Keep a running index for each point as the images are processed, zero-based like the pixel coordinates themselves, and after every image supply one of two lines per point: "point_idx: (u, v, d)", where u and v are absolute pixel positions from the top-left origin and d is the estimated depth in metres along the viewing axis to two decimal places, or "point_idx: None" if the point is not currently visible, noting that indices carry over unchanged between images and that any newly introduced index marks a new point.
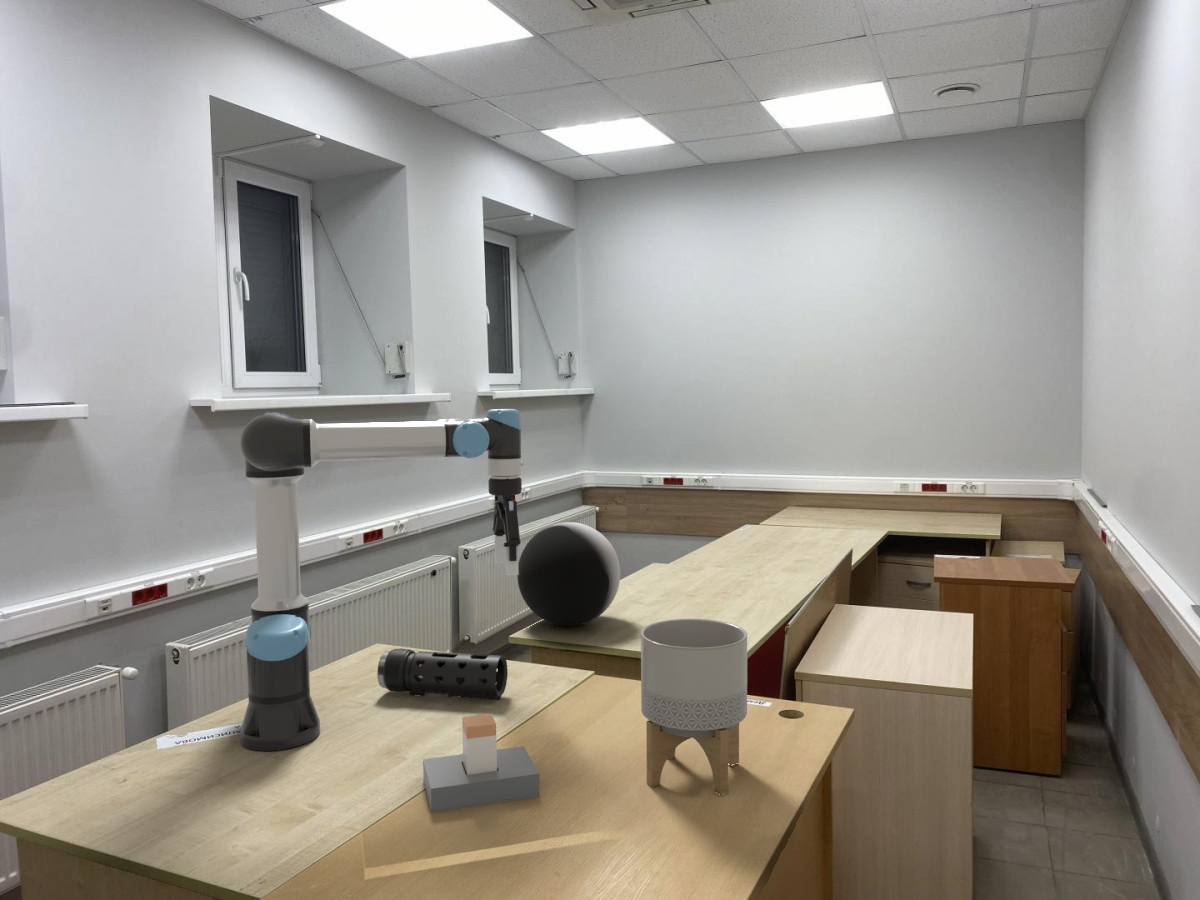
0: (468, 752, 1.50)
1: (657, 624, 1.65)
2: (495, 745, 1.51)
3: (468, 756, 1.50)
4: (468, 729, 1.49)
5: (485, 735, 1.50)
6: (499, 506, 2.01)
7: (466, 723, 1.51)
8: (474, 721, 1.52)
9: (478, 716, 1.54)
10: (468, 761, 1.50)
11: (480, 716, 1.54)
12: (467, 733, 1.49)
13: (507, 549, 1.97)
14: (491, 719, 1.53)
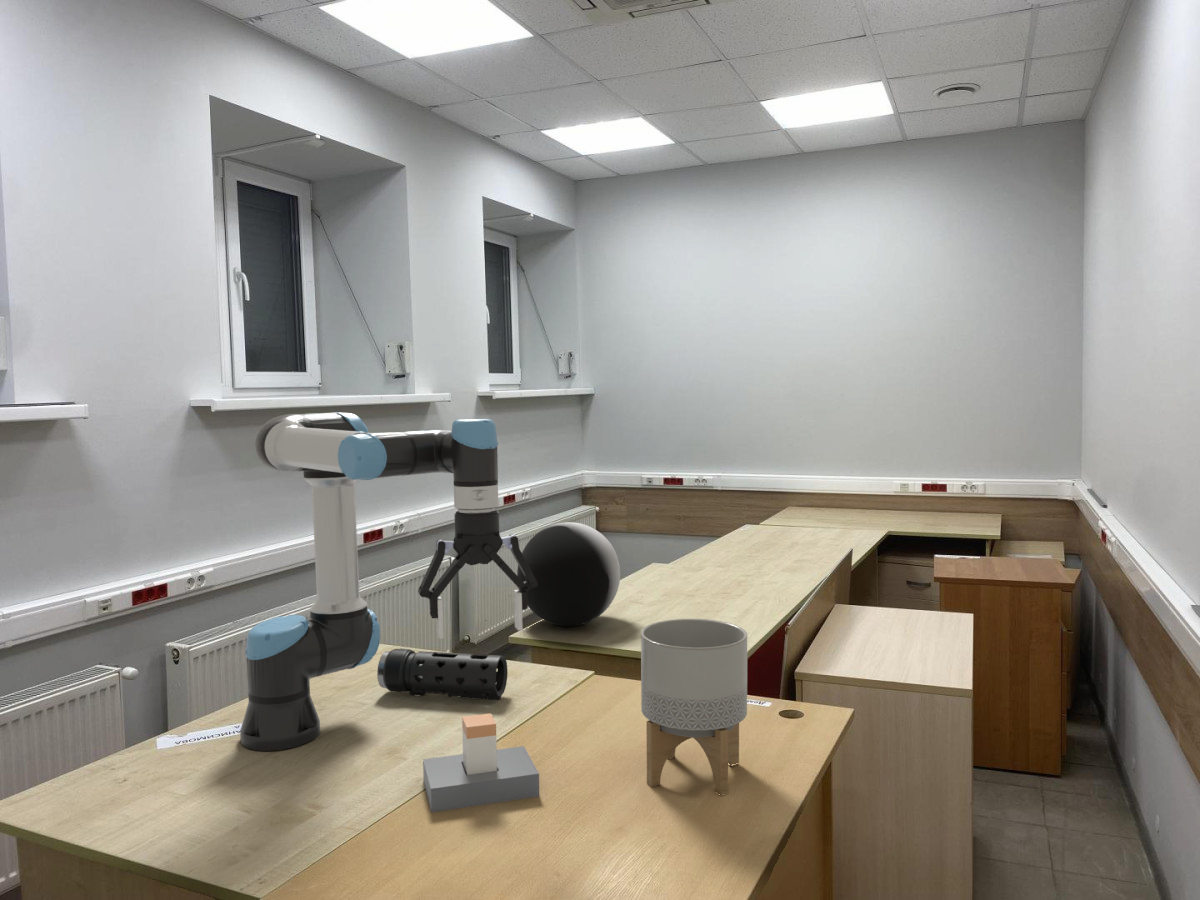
0: (468, 752, 1.50)
1: (657, 624, 1.65)
2: (495, 745, 1.51)
3: (468, 756, 1.50)
4: (468, 729, 1.49)
5: (485, 735, 1.50)
6: None
7: (466, 723, 1.51)
8: (474, 721, 1.52)
9: (478, 716, 1.54)
10: (468, 761, 1.50)
11: (480, 716, 1.54)
12: (467, 733, 1.49)
13: None
14: (491, 719, 1.53)
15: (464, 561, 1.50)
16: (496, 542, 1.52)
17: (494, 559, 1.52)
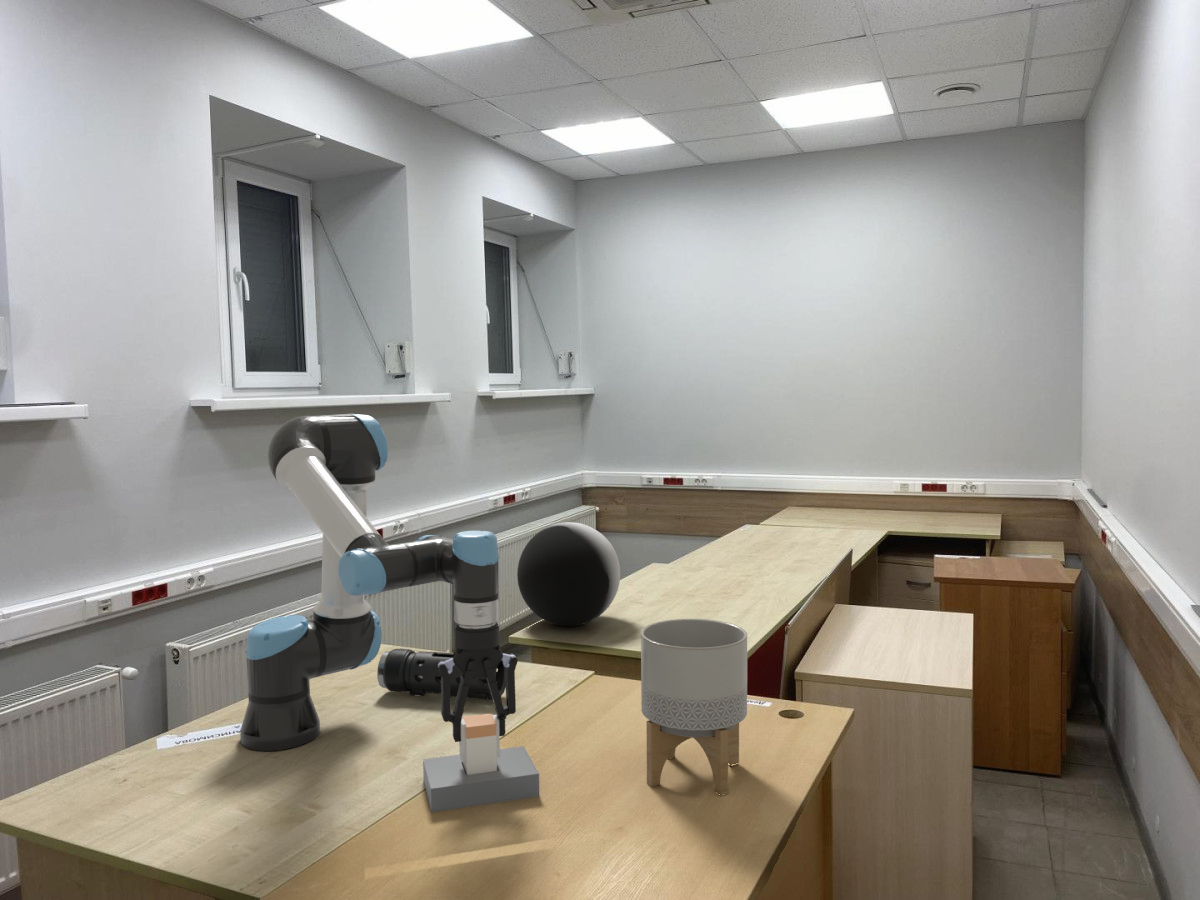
0: (468, 752, 1.50)
1: (657, 624, 1.65)
2: (495, 745, 1.51)
3: (468, 756, 1.50)
4: (468, 729, 1.49)
5: (485, 735, 1.50)
6: None
7: (466, 723, 1.51)
8: (474, 721, 1.52)
9: (478, 716, 1.54)
10: (468, 761, 1.50)
11: (480, 716, 1.54)
12: (467, 733, 1.49)
13: None
14: (491, 719, 1.53)
15: (470, 678, 1.50)
16: (496, 656, 1.51)
17: (488, 676, 1.50)
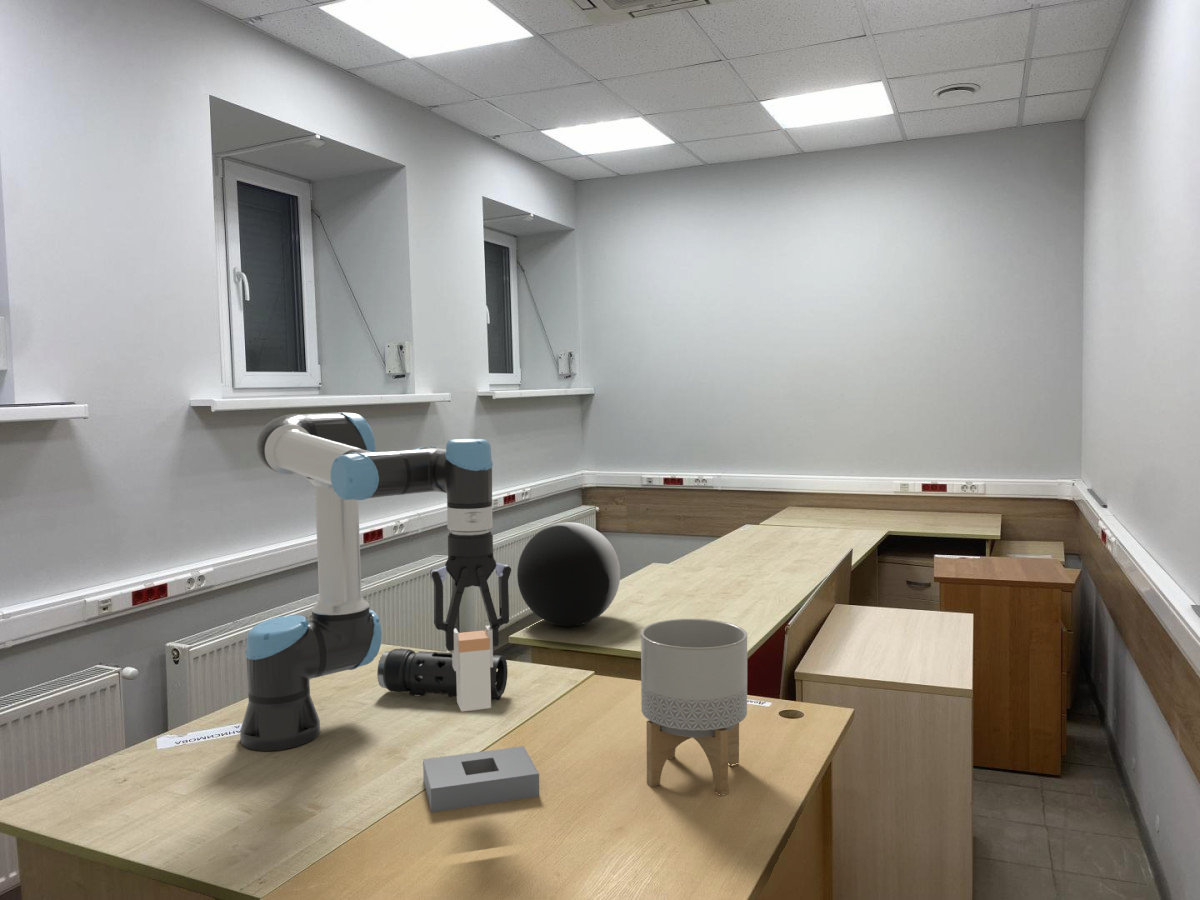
0: (461, 666, 1.48)
1: (657, 624, 1.65)
2: (488, 659, 1.50)
3: (461, 670, 1.48)
4: (462, 643, 1.48)
5: (478, 649, 1.49)
6: None
7: (459, 638, 1.50)
8: (467, 636, 1.50)
9: (471, 632, 1.53)
10: (461, 675, 1.48)
11: (473, 632, 1.53)
12: (460, 647, 1.48)
13: None
14: (484, 634, 1.51)
15: (463, 585, 1.48)
16: (490, 564, 1.50)
17: (481, 584, 1.49)
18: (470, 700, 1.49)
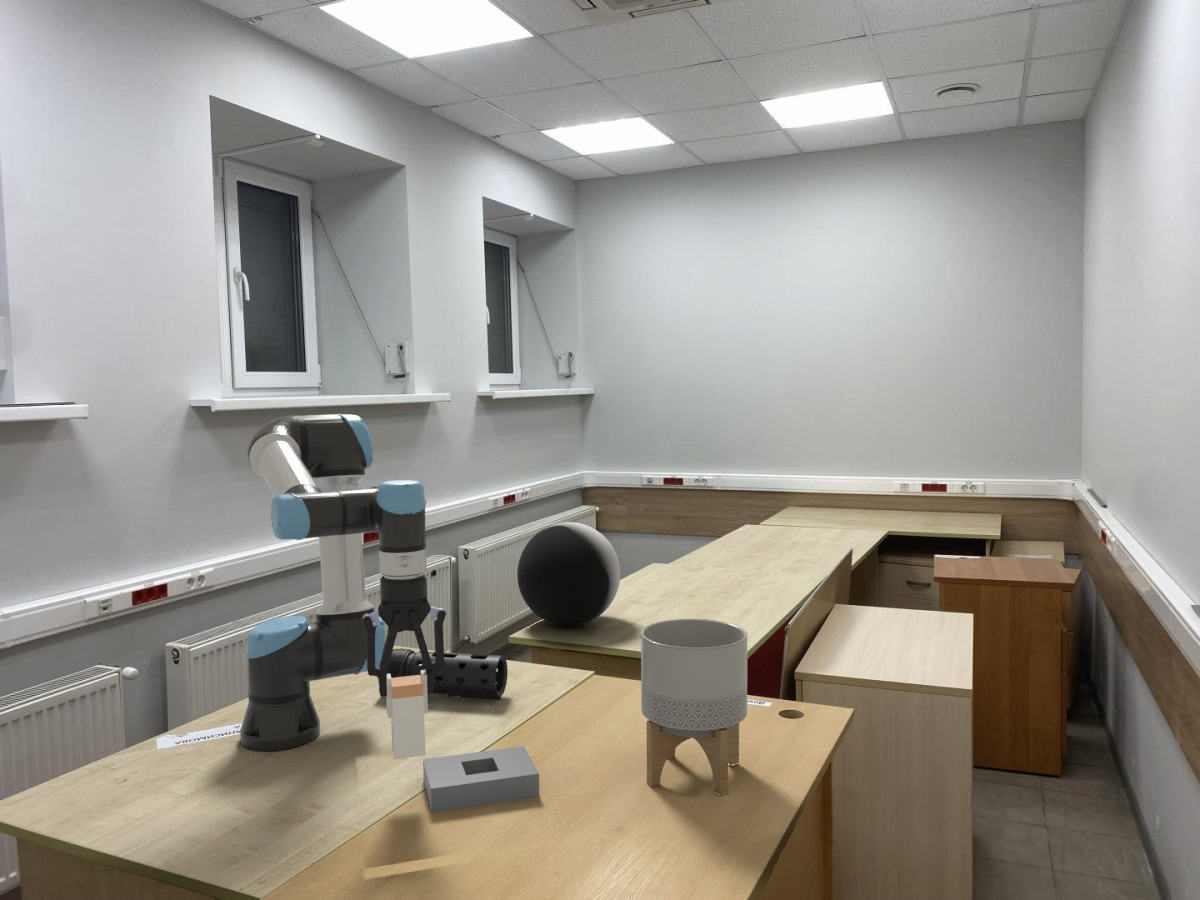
0: (394, 713, 1.45)
1: (657, 624, 1.65)
2: (422, 706, 1.47)
3: (394, 717, 1.45)
4: (394, 689, 1.45)
5: (412, 696, 1.46)
6: None
7: (392, 683, 1.47)
8: (401, 682, 1.47)
9: (406, 677, 1.50)
10: (394, 722, 1.45)
11: (408, 677, 1.50)
12: (393, 693, 1.45)
13: None
14: (419, 680, 1.48)
15: (395, 630, 1.45)
16: (424, 608, 1.47)
17: (415, 629, 1.46)
18: (403, 747, 1.46)
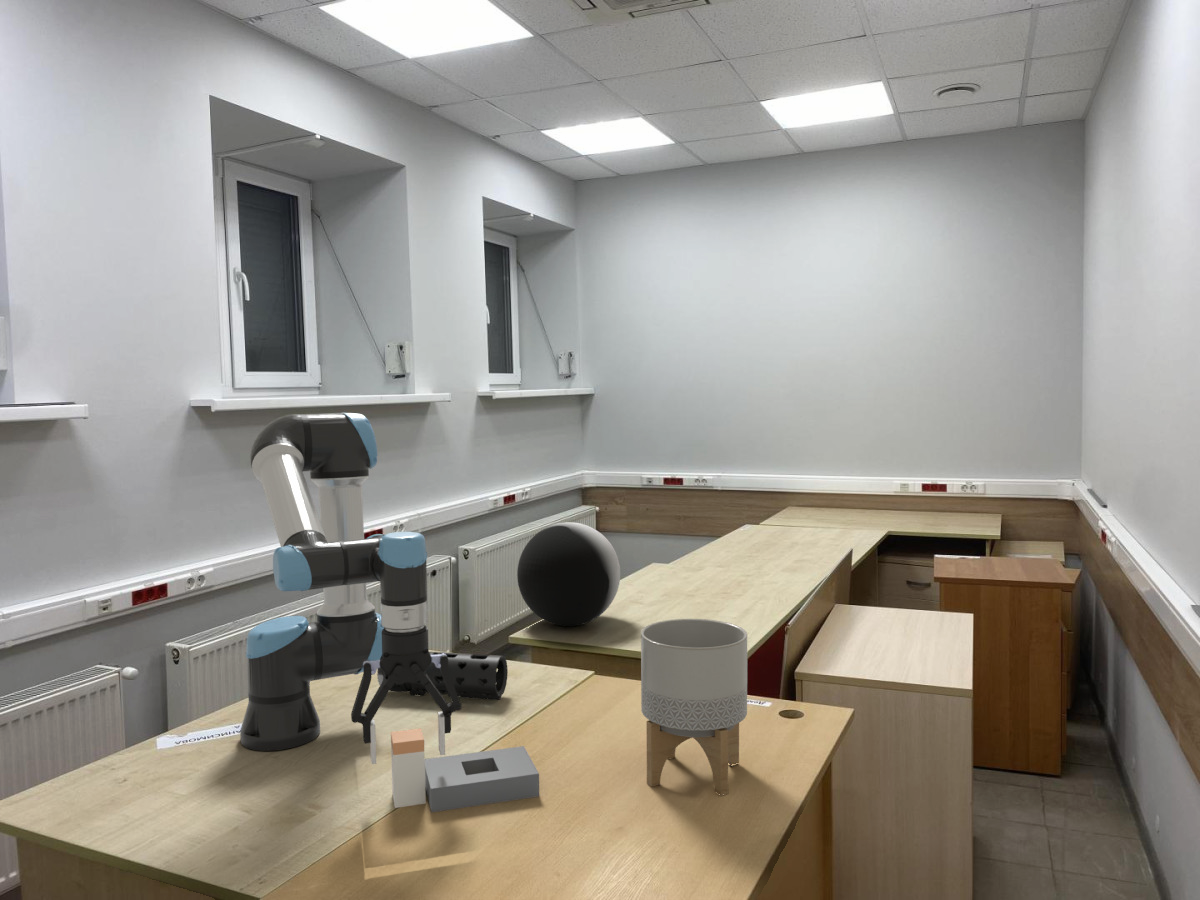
0: (395, 769, 1.46)
1: (657, 624, 1.65)
2: (423, 761, 1.47)
3: (395, 773, 1.46)
4: (395, 745, 1.46)
5: (413, 751, 1.47)
6: None
7: (393, 739, 1.47)
8: (402, 737, 1.48)
9: (407, 731, 1.50)
10: (395, 778, 1.46)
11: (409, 731, 1.50)
12: (394, 749, 1.46)
13: None
14: (420, 734, 1.49)
15: (392, 682, 1.46)
16: (425, 660, 1.48)
17: (420, 679, 1.47)
18: (404, 802, 1.47)
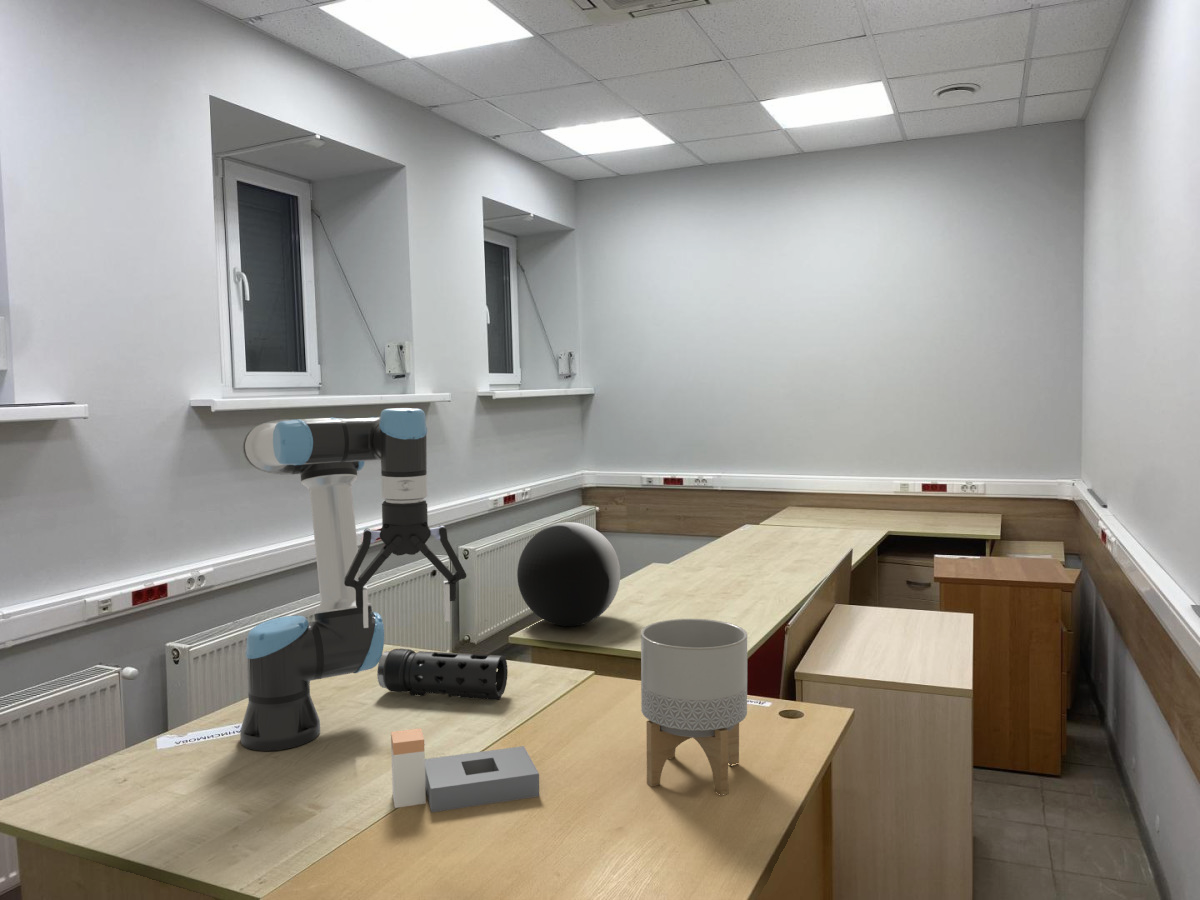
0: (395, 768, 1.46)
1: (657, 624, 1.65)
2: (423, 761, 1.47)
3: (395, 773, 1.46)
4: (395, 745, 1.46)
5: (413, 751, 1.47)
6: None
7: (393, 739, 1.47)
8: (402, 737, 1.48)
9: (407, 731, 1.50)
10: (395, 778, 1.46)
11: (409, 731, 1.50)
12: (394, 749, 1.46)
13: None
14: (420, 734, 1.49)
15: (390, 551, 1.49)
16: (424, 533, 1.51)
17: (421, 550, 1.51)
18: (404, 802, 1.47)
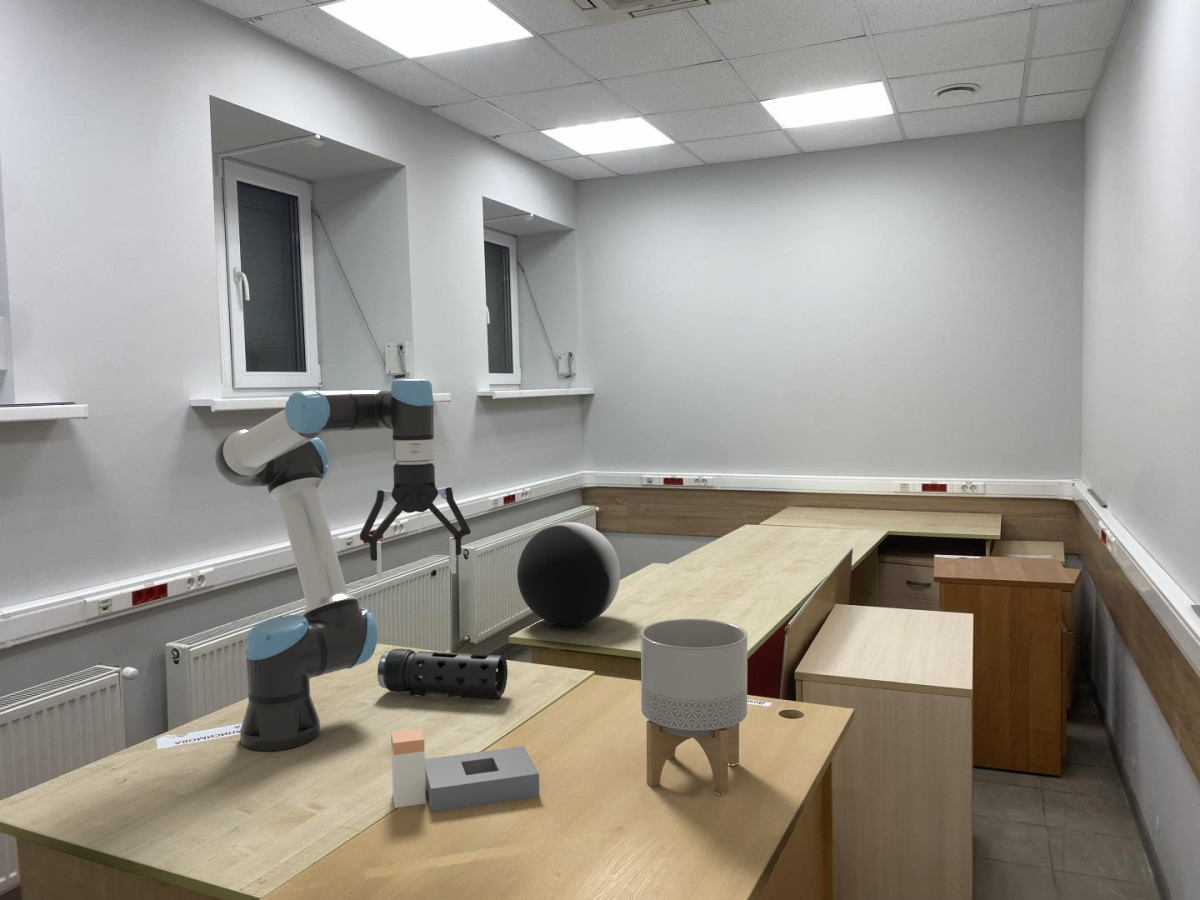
0: (395, 769, 1.46)
1: (657, 624, 1.65)
2: (423, 761, 1.47)
3: (395, 773, 1.46)
4: (395, 745, 1.46)
5: (413, 751, 1.47)
6: None
7: (393, 739, 1.47)
8: (402, 737, 1.48)
9: (407, 731, 1.50)
10: (395, 778, 1.46)
11: (409, 731, 1.50)
12: (394, 749, 1.46)
13: None
14: (420, 734, 1.49)
15: (401, 509, 1.64)
16: (431, 492, 1.66)
17: (429, 507, 1.66)
18: (404, 802, 1.47)
